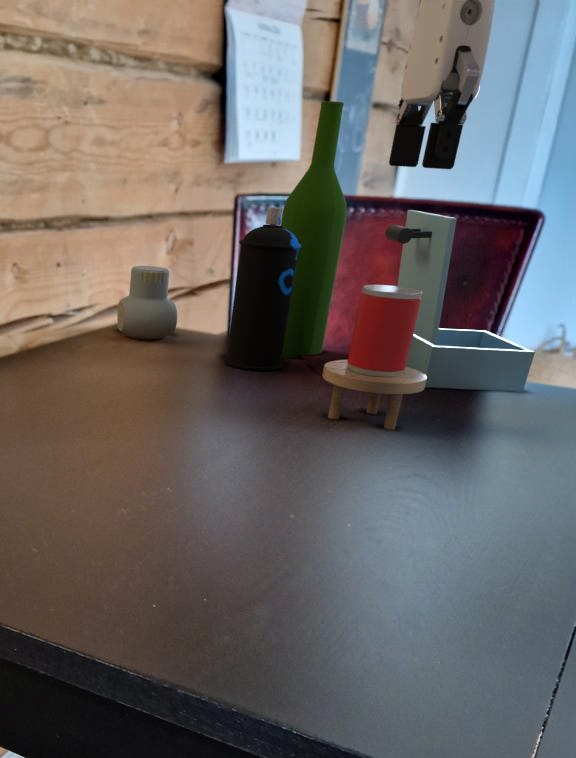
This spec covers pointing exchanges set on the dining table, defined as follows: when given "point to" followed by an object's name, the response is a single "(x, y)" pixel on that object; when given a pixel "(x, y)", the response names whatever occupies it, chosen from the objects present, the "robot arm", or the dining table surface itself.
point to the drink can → (383, 330)
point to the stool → (372, 388)
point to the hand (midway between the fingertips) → (419, 167)
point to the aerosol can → (262, 296)
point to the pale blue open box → (471, 361)
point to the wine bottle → (315, 239)
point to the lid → (425, 264)
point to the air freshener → (147, 305)
